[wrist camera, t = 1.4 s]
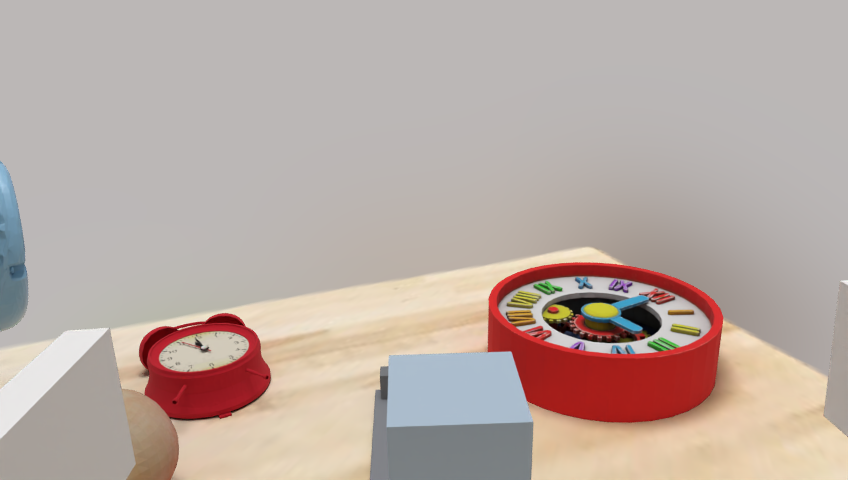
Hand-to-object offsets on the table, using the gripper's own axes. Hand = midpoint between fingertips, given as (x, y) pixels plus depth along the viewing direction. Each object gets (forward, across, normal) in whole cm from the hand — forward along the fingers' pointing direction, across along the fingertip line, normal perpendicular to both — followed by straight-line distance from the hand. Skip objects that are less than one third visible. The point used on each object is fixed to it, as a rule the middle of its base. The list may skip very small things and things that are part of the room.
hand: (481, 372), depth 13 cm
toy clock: (+46, +16, -24) cm, 54 cm away
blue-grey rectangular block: (+18, 0, -24) cm, 30 cm away
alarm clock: (+45, -20, -22) cm, 54 cm away
